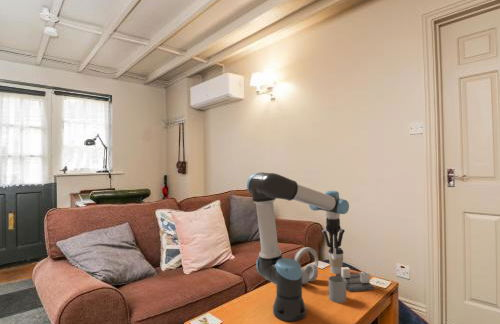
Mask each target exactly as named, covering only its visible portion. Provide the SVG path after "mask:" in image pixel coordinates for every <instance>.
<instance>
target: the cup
mask: <svg viewBox="0 0 500 324" xmlns="http://www.w3.org/2000/svg"><path fill="white" fill-rule="evenodd" d="M328 299H329V301H331V302H333V303H335V304H344V303H346V302H347V289H346V279H345V278H343V277H341V276H336V275H331V276H329V277H328Z"/></svg>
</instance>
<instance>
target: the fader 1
mask: <svg viewBox="0 0 500 324" xmlns="http://www.w3.org/2000/svg"><path fill="white" fill-rule="evenodd" d="M350 274H351V269H350V268H349V267H347V266H344V267H343V266H342V267H341V276H342V277H343V278H350Z"/></svg>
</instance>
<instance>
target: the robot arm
mask: <svg viewBox="0 0 500 324" xmlns="http://www.w3.org/2000/svg"><path fill="white" fill-rule="evenodd" d="M246 189H247V191H248V193H249V194H250V195H251V198H252V199H251V200H252V202H253V203H254V204H255V206H256V207H255V208H256V215H257V225H258V232H259V242H260V251H259V253H258V257H257V259H256V262H255V267H256V270H257V273H258V274H259V275H260V276H261V277H262V278H263V279H266V280H267V281H269V282H271V283H273V284H274V285H275V287H276V296H275V299H274V302H273V306H272V313H273V315H274V317H275V318H277V319H278V320H280V321H283V322H284V321H285V322H297V321H301V320H303V319H304V318H306V316H307V307H306V304H305V302H304V298H303V284H302V270H301V267H302V265H301V263H300V261H298V262H297V261H296V260H294V258H293V259H292V258H289V257H283V253H282V250H281V249H279V242H278V235H277V233H278V232H277V225H276V216H275V205H274V202H275V200H276V199H281V200H286V201H289V202H290V201H295V202H300V203H302V204H306V205H308V207H309V209H311V211H323V212H325V213H326V214H325V217H326V219H325V220H326V223H325V224H326V226H325V229H322V230H321V232H322V234H323V237H324V240H325V244H326V246H327V247H328V248H329V249H330V253H331V254H332V259H333V260H336V253H337V248H338V247H339V248H341V247H342V241H343V236H344V233H345V229H344V228H342V227H341V219H340V215H346V214H347V213H348V212H349V209H350V203H349V202H348V200H346V199H343V198H340V192H339V191H337V190H327V191H325V193H323V192H320V191H318V190H315V189H313V188H309V187H306V186H304V185H301V184H299V183H298V182H297V181H295V180H293V179H290V178H289V177H286V176H284V175H281V174H278V173H274V172H270V173H269V172H256V173H253V174H252V175H250V176H249V178H248V179H247V182H246ZM328 235H329V236H328Z"/></svg>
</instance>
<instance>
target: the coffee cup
mask: <svg viewBox="0 0 500 324" xmlns="http://www.w3.org/2000/svg"><path fill="white" fill-rule="evenodd" d="M328 259H329V268H330V273H332V274H334V275H337V274H341V267H343V263H344V250H343V249H342V248H341V247H338V248H337V253H336V260H333V259H332V254H331V253H330V248H329V249H328Z"/></svg>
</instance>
